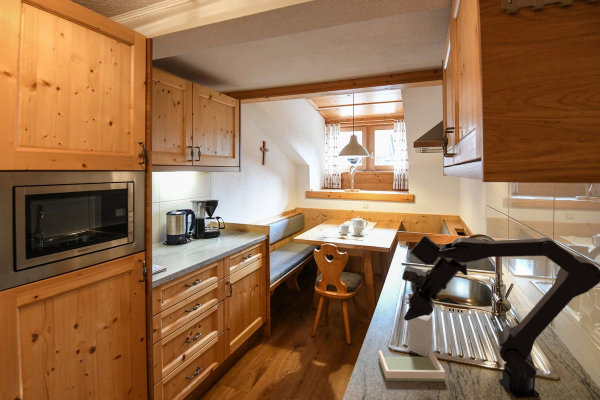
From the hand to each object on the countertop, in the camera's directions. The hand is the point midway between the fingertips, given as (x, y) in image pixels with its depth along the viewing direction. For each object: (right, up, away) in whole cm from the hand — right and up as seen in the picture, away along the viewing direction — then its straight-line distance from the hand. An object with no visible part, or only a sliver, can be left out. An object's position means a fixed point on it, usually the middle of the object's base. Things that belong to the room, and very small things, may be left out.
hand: (407, 313), depth 95 cm
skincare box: (+6, -15, +6) cm, 17 cm away
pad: (0, -15, -3) cm, 16 cm away
